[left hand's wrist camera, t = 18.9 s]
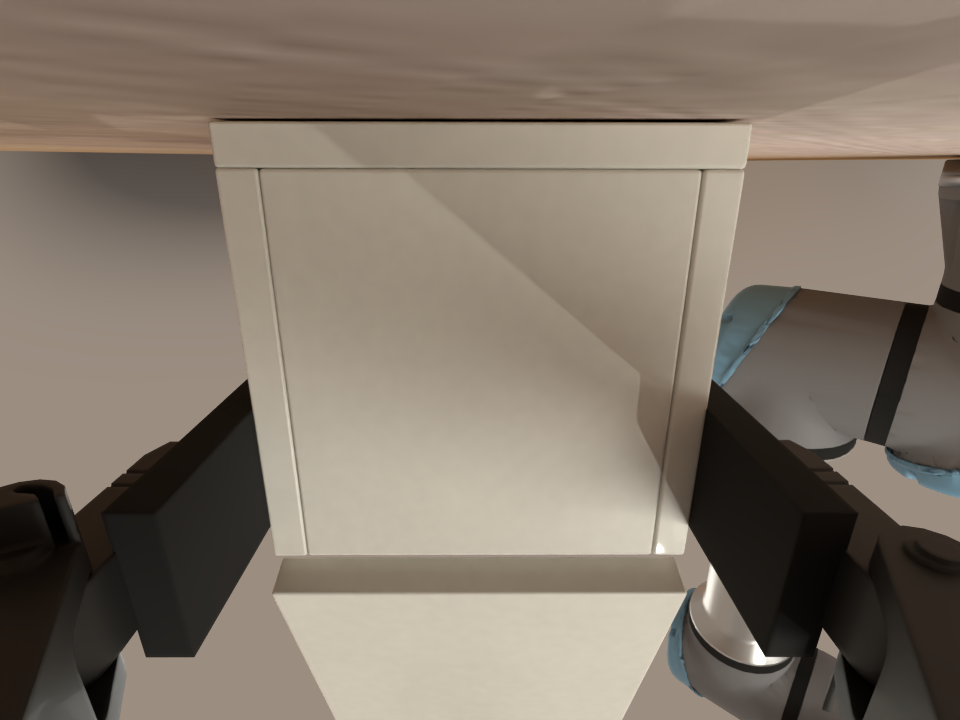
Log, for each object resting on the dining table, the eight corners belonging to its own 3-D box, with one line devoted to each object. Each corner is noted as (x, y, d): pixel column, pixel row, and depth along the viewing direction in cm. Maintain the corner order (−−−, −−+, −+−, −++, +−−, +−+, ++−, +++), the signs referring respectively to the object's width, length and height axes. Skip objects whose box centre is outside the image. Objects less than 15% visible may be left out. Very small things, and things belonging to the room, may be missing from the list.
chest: (572, 164, 24) (562, 336, 27) (385, 163, 24) (394, 336, 27) (754, 122, 8) (685, 555, 11) (205, 119, 8) (273, 556, 11)
